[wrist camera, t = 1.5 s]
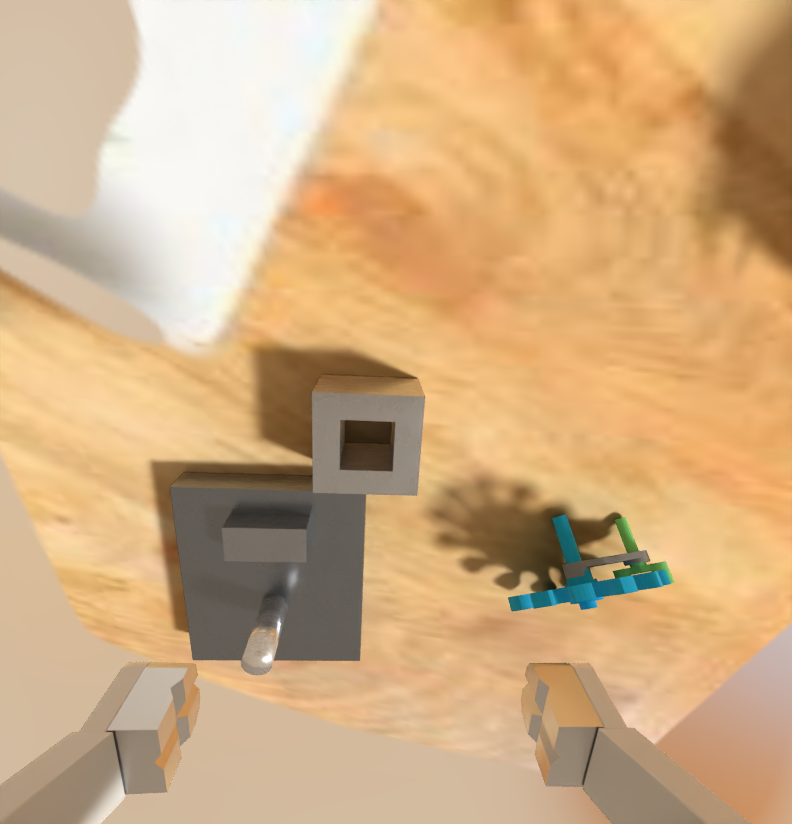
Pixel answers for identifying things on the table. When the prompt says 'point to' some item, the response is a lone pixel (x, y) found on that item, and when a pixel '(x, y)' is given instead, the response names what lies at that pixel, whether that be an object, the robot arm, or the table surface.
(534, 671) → the robot arm
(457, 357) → the table surface
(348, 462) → the collar
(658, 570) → the gear
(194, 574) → the shaft stand
